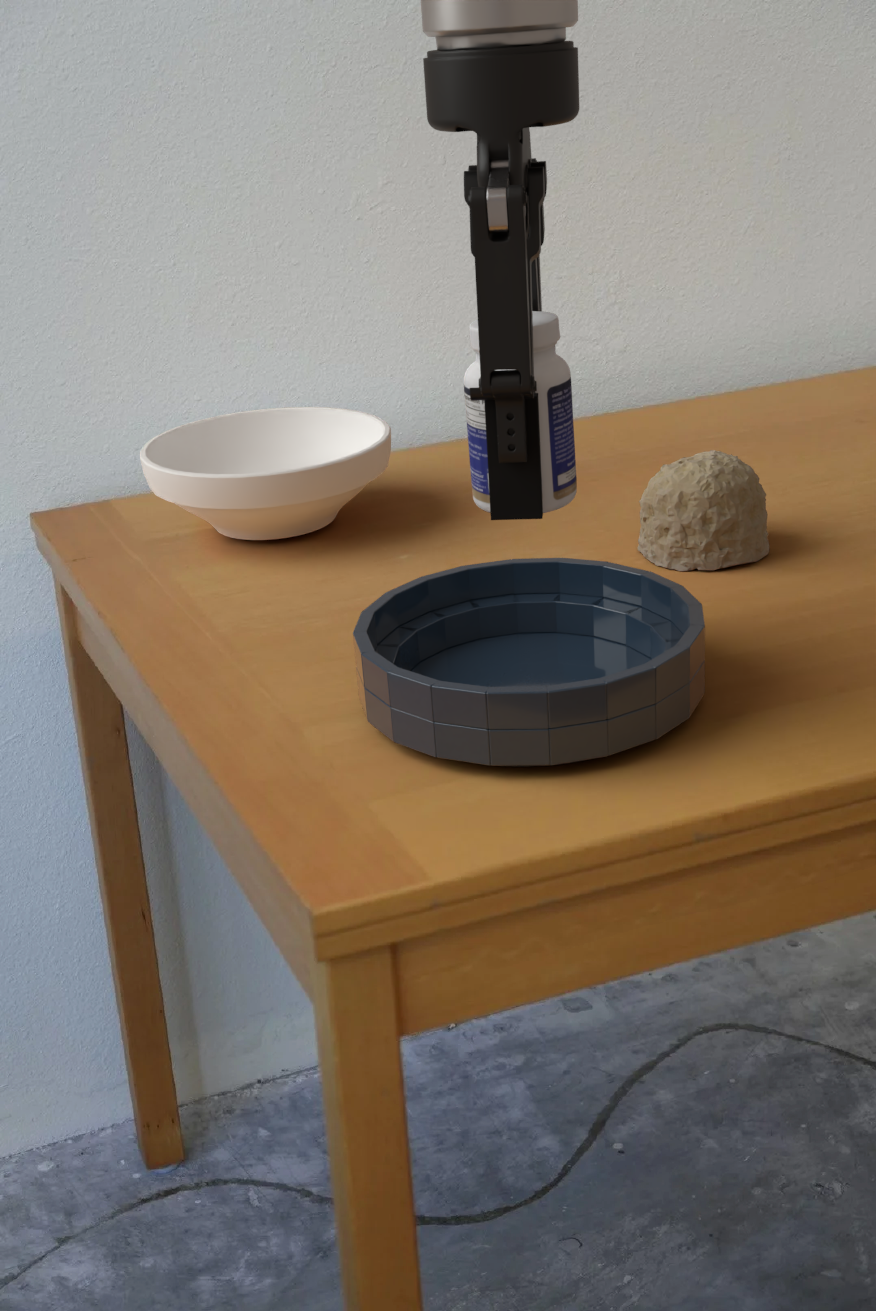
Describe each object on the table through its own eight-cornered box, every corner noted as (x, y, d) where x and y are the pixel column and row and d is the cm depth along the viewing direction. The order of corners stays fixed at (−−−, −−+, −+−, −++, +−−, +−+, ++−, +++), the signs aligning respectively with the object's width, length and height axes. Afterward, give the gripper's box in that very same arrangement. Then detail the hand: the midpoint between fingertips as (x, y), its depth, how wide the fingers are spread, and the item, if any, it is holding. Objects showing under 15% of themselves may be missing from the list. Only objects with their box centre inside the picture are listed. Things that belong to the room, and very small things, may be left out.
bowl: (137, 510, 124) (124, 427, 121) (361, 475, 129) (354, 394, 126) (172, 586, 107) (158, 491, 104) (430, 541, 112) (423, 450, 109)
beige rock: (638, 610, 107) (632, 529, 98) (639, 503, 112) (634, 417, 103) (769, 608, 105) (775, 525, 97) (765, 500, 110) (770, 412, 102)
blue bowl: (695, 628, 93) (695, 553, 91) (713, 778, 75) (713, 689, 73) (388, 634, 96) (381, 561, 94) (335, 780, 78) (326, 695, 76)
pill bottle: (541, 479, 84) (532, 303, 80) (597, 503, 80) (591, 317, 76) (453, 500, 82) (440, 320, 78) (505, 526, 77) (494, 335, 73)
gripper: (443, 39, 80) (468, 452, 90) (396, 52, 63) (432, 559, 73) (582, 30, 79) (592, 448, 89) (571, 39, 62) (586, 555, 72)
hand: (520, 497), depth 81 cm, fingers closed on pill bottle, 6 cm apart
